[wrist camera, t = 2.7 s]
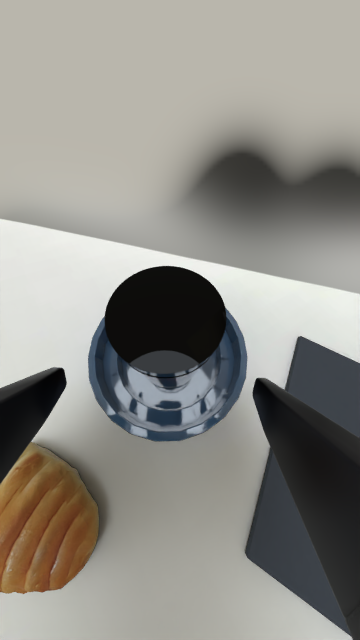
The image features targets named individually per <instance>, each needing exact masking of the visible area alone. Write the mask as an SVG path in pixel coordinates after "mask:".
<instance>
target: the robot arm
mask: <svg viewBox="0 0 360 640" xmlns="http://www.w3.org/2000/svg"><path fill="white" fill-rule="evenodd" d="M66 383H67V382H66V377H65V372H64V369H63V368H57V367H53V368H50V369H47V370H45V371H42V372H40V373H37V374H35V375H32V376H30V377H27V378H25V379H22V380H20V381H17V382H15V383H12V384H10V385H7V386H5V387H2V388H0V484H1V483H2V481H3V480H4V479H5V477H6V476H7V474H8V473H9V472H10V470H11V469H12V467H13V466H14V465H15V463H16V462H17V460H18V459H19V458H20V456H21V455H22V453H23V452H24V451H25V449H26V448H27V446H28V445H29V444H30V442H31V441H32V439H33V438H34V437H35V435H36V434H37V432H38V431H39V430H40V428H41V427H42V425H43V424H44V422H45V421H46V419H47V418H48V416H49V415H50V413H51V411H52V410H53V408H54V406H55V404H56V403H57V401H58V399H59V398H60V396H61V394H62V393H63V391H64V389H65V387H66ZM253 399H254V402H255V405H256V408H257V411H258V414H259V417H260V421H261V424H262V427H263V430H264V432H265V435H266V437H267V440H268V442H269V444H270V447H271V449H272V451H273V454H274V456H275V458H276V461H277V463H278V465H279V468H280V470H281V472H282V475H283V477H284V479H285V482H286V484H287V486H288V489H289V491H290V493H291V496H292V498H293V500H294V503H295V505H296V507H297V510H298V512H299V514H300V517H301V519H302V521H303V524H304V526H305V528H306V531H307V533H308V535H309V538H310V540H311V542H312V545H313V547H314V549H315V552H316V554H317V556H318V559H319V561H320V563H321V566H322V568H323V570H324V573H325V575H326V577H327V580H328V582H329V584H330V587H331V589H332V591H333V594H334V596H335V598H336V601H337V603H338V605H339V608H340V610H341V612H342V615H343V616H344V618H345V622H346V624H347V627H348V629H349V631H350V634H351V636H352V638H353V640H360V438H359V437H358V436H356V435H354V434H353V433H351V432H350V431H348V430H347V429H345V428H343V427H342V426H340V425H339V424H337V423H336V422H334V421H332V420H331V419H329V418H328V417H326V416H325V415H323V414H321V413H320V412H318V411H317V410H315V409H313V408H312V407H310V406H309V405H307V404H306V403H304V402H302V401H301V400H299V399H298V398H296V397H295V396H293V395H291V394H290V393H288V392H287V391H285V390H284V389H282V388H280V387H279V386H277V385H276V384H274V383H273V382H271V381H269V380H268V379H266V378H257V379H256V381H255V384H254V388H253Z"/></svg>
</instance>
